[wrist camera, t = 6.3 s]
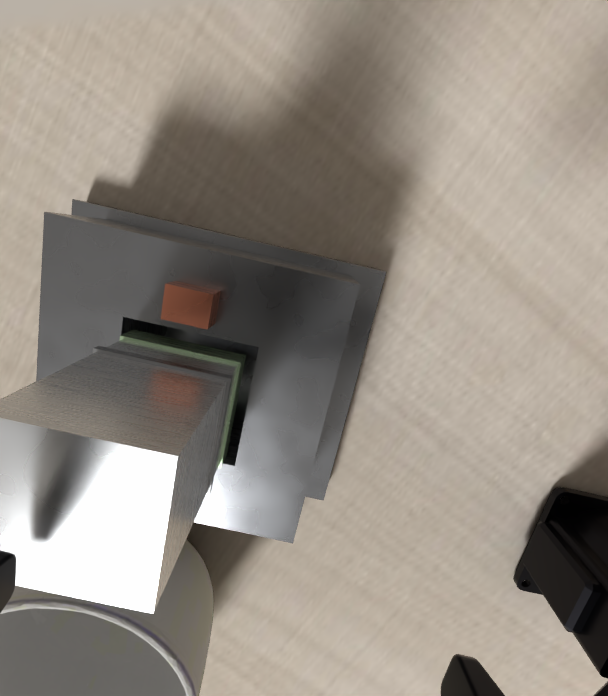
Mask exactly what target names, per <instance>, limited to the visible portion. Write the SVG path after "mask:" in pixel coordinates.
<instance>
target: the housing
mask: <svg viewBox="0 0 608 696" xmlns="http://www.w3.org/2000/svg"><path fill="white" fill-rule="evenodd" d="M385 275H386V272H385V271H383V270H378V269H374V268H370V267H365V266H361V265H357V264H353V263H348V262H344V261H340V260H335V259H331V258H327V257H322V256H318V255H314V254H309V253H305V252H301V251H297V250H292V249H288V248H284V247H279V246H275V245H271V244H266V243H262V242H258V241H253V240H249V239H245V238H240V237H236V236H232V235H228V234H223V233H219V232H215V231H210V230H206V229H202V228H197V227H193V226H189V225H184V224H180V223H176V222H171V221H167V220H163V219H159V218H154V217H150V216H146V215H141V214H137V213H133V212H128V211H124V210H120V209H115V208H111V207H107V206H102V205H98V204H94V203H90V202H85V201H80V200H74V199H73V200H72V215H67V214H59V213H50V212H44V231H43V252H42V273H41V294H40V315H39V336H38V357H37V378H36V381H38V380H40V379H42V378H45V377H47V376H49V375H51V374H53V373H55V372H57V371H59V370H61V369H63V368H65V367H67V366H69V365H71V364H73V363H75V362H77V361H79V360H81V359H83V358H85V357H87V356H89V355H91V354H93V348H95V347H97V346H102V347H108V346H110V345H112V344H114V343H116V342H118V341H120V335H123V334H125V333H127V332H129V331H131V330H138V331H142V332H147V333H151V334H156V335H160V336H165V337H169V338H174V339H178V340H183V341H187V342H191V343H196V344H200V345H205V346H209V347H214V348H218V349H223V350H227V351H232V352H236V353H241V354H245V355H246V359H245V364H244V369H243V374H242V379H241V385H240V390H239V395H238V400H237V405H236V410H235V416H234V421H233V426H232V431H231V436H230V441H229V447H228V452H227V456H226V458H225V460H224V463H223V465H222V467H221V468H218V469H217V471H216V473H215V475H214V480H213V485H212V491H211V493H210V495H209V496H205V498H204V500H203V502H202V505H201V507H200V509H199V511H198V514H197V516H196V518H195V521H194V522H195V523H200V524H204V525H209V526H214V527H218V528H223V529H228V530H233V531H237V532H242V533H247V534H251V535H256V536H261V537H266V538H270V539H275V540H280V541H284V542H289V543H293V540H294V537H295V533H296V529H297V525H298V521H299V517H300V514H301V510H302V506H303V502H304V498H305V497H310V498H315V499H319V500H324V496H325V493H326V489H327V486H328V482H329V478H330V475H331V471H332V467H333V464H334V460H335V457H336V453H337V449H338V446H339V442H340V438H341V435H342V431H343V428H344V424H345V420H346V417H347V413H348V409H349V406H350V402H351V398H352V395H353V391H354V388H355V384H356V380H357V377H358V373H359V369H360V366H361V362H362V359H363V355H364V351H365V348H366V344H367V340H368V337H369V333H370V330H371V326H372V322H373V319H374V315H375V311H376V308H377V304H378V300H379V297H380V293H381V290H382V286H383V282H384V279H385Z"/></svg>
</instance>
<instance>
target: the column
mask: <svg viewBox="0 0 608 696" xmlns="http://www.w3.org/2000/svg"><path fill="white" fill-rule="evenodd" d="M245 359H246V355H245V354H241V353H236V352H232V351H227V350H223V349H218V348H214V347H209V346H205V345H200V344H196V343H191V342H187V341H183V340H178V339H174V338H169V337H165V336H160V335H156V334H151V333H147V332H142V331H138V330H131V331H129V332H127V333H125V334H123V335H120V341H118V342H116V343H114V344H112V345H110V346H108V347H102V346H97V347H95V348H93V354H91V355H89V356H87V357H85V358H83V359H81V360H79V361H77V362H75V363H73V364H71V365H69V366H67V367H65V368H63V369H61V370H59V371H57V372H55V373H53V374H51V375H49V376H47V377H45V378H42V379H40V380H38V381H36V382H34V383H32V384H30V385H28V386H26V387H24V388H22V389H20V390H18V391H16V392H14V393H12V394H10V395H8V396H6V397H4V398H2V399H0V551H5V552H9V553H13V554H15V556H16V559H17V563H16V586H21V587H26V588H31V589H36V590H41V591H46V592H51V593H55V594H60V595H65V596H70V597H75V598H80V599H85V600H90V601H95V602H99V603H104V604H109V605H114V606H119V607H124V608H129V609H134V610H138V611H143V612H148V613H154V611H155V609H156V606H157V604H158V602H159V600H160V597H161V595H162V593H163V591H164V588H165V586H166V584H167V582H168V579H169V577H170V575H171V573H172V570H173V568H174V566H175V563H176V561H177V559H178V557H179V554H180V552H181V550H182V548H183V545H184V543H185V541H186V539H187V536H188V534H189V532H190V530H191V527H192V525H193V523H194V521H195V518H196V516H197V514H198V511H199V509H200V507H201V505H202V502H203V500H204V498H205V496H209V495H210V493H211V491H212V485H213V480H214V475H215V473H216V471H217V469H218V468H221V467H222V465H223V463H224V460H225V458H226V456H227V452H228V447H229V441H230V436H231V431H232V426H233V421H234V416H235V410H236V405H237V400H238V395H239V390H240V385H241V379H242V374H243V369H244V364H245Z"/></svg>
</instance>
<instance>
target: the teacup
mask: <svg viewBox="0 0 608 696" xmlns="http://www.w3.org/2000/svg"><path fill="white" fill-rule="evenodd" d="M213 608H214V598H213V588H212V583H211V579H210V576H209V573H208V570H207V568H206V565H205V563H204V561H203V560H202V558H201V556H200V555H199V553H198V552H197V551H196V549H195V548H194V547H193V546H192V545H191V544H190V542H189V541H188V540H187V539H186V541H185V543H184V545H183V548H182V550H181V552H180V554H179V557H178V559H177V561H176V563H175V566H174V568H173V570H172V573H171V575H170V577H169V579H168V582H167V584H166V586H165V588H164V591H163V593H162V595H161V597H160V600H159V602H158V604H157V606H156V609H155V611H154V613H148V612H143V611H138V610H134V609H129V608H124V607H119V606H114V605H109V604H104V603H99V602H95V601H90V600H85V599H80V598H75V597H70V596H65V595H60V594H55V593H51V592H46V591H41V590H36V589H31V588H26V587H21V586H16V585H15V589H14V592H13V594H12V596H11V598H10V600H9V601H8V603H7V604H6V606H5V607H4V609H3V610H2V612H1V613H0V696H199V693H200V688H201V684H202V679H203V674H204V669H205V664H206V658H207V653H208V647H209V642H210V635H211V629H212V621H213Z"/></svg>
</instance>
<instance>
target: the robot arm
mask: <svg viewBox="0 0 608 696" xmlns="http://www.w3.org/2000/svg"><path fill="white" fill-rule="evenodd" d="M563 496H565V497H564V498H563V499H561V497H563ZM560 499H561V500H560ZM16 563H17V559H16V556H15V554H13V553H9V552H5V551H0V613H1V612H2V610H3V609H4V607H5V606H6V604H7V603H8V601H9V600H10V598H11V596H12V594H13V592H14V589H15V585H16ZM513 579H514V582H515V583H516V585H517V587H518V588H519V589H520V590H523V591H527V592H532V593H537V594H542V595H544V597H545V598H546V600H547V601H548V603H549V604H550V606H551V608H552V609H553V611H554V612H555V614H556V615H557V617H558V618H559V620H560V622H561V623H562V625H563V626H564V628H565V629H566V630H567V631H568V632H572V633H573V634H574V636H575V637H576V639H577V640H578V642H579V643H580V645H581V646H582V648H583V649H584V651H585V652H586V654H587V655H588V657H589V658H590V660H591V661H592V663H593V664H594V666H595V667H596V669H597V670H598V672H599V674H600V675H601V676H602V677H605V678H608V497H604V496H600V495H595V494H590V493H586V492H581V491H577V490H572V489H568V488H561V487H560V488H557V489H555V490H553V492H552V493H551V495H550V497H549V499H548V502H547V504H546V506H545V508H544V510H543V513H542V515H541V517H540V519H539V521H538V524H537V526H536V528H535V530H534V533H533V535H532V537H531V539H530V541H529V544H528V546H527V548H526V550H525V553H524V555H523V557H522V559H521V561H520V564H519V566H518V568H517V570H516V573H515V575H514V578H513ZM524 580H525V581H524ZM441 696H505V695H504V694H503V693H502V691H501V690H500V689H499V687H498V686H497V685H496V683H495V682H494V681H493V680H492V678H491V677H490V676H489V674H488V673H487V672H486V670H485V669H484V668H483V667H482V665H481V664H480V663H479V662H478V661H477V660H476V659H475V658H473V657H469V656H464V655H460V654H456V655H454V656H453V658H452V659H451V662H450V664H449V667H448V669H447V671H446V674H445V676H444V678H443V681H442V685H441ZM594 696H608V682H607V683H606V684H605V685H604V686H603V687H602V688H601V689H600V690H599V691H598V692H597V693H596V694H595V695H594Z"/></svg>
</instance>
